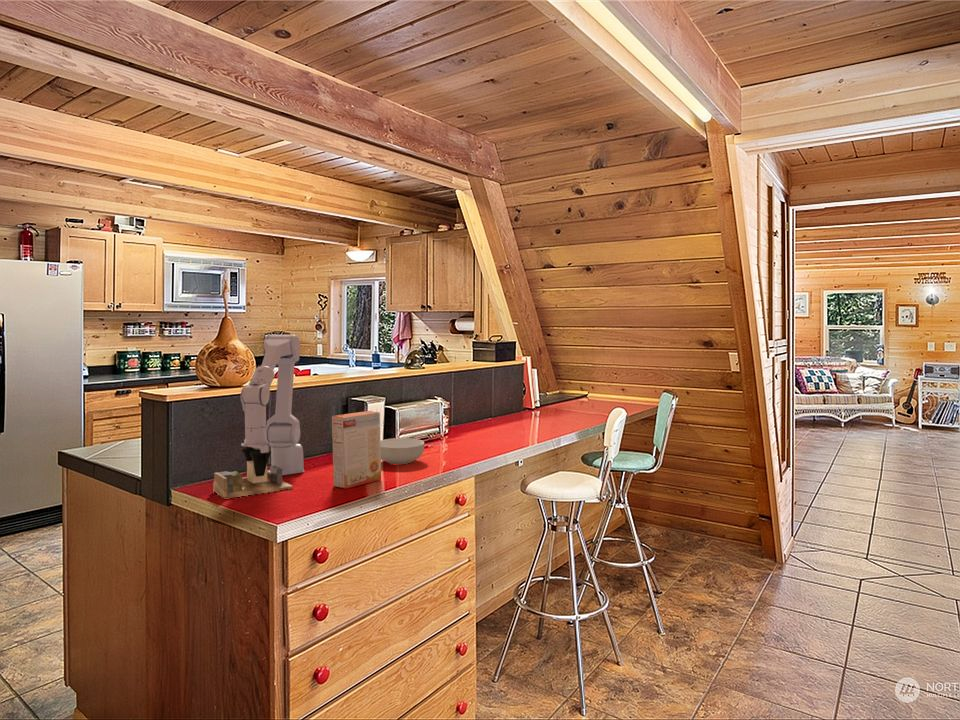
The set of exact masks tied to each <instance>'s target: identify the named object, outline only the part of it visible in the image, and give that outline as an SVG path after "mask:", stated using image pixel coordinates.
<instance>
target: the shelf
mask: <svg viewBox="0 0 960 720" xmlns="http://www.w3.org/2000/svg"><path fill="white" fill-rule="evenodd" d="M213 479H214V480H213V482H212V483H213V485H212V486H213V489H212V490H213V492H214V491H215V492H216V493H217V494H218V495H220V496H221V497H223V498H224V499H226V498H233V497H240V498H242V497H241V496H246V497H249V496H248V495H252V496H255V495H254V494H258V495H262V494H261V493H264V494H268V492H270V493H274V491H276V492H281V491H280V490H282V491H286V489H288V490H293V486H294V485H291V484H290V483H288V482H285V481H284V480H282V484H275V483H273V482H271V481H270V473H267V481H266V482H259V483H252V482H250V481H248V480H247V476H245V477H243V474H242V473H241V472H238V471H237V470H236V471H235V470H234V471H228V470H227V471H220V472H219V471H218V472H213ZM218 495H217V496H218ZM221 497H220V498H221ZM224 499H223V500H224Z"/></svg>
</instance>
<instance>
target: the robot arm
mask: <svg viewBox="0 0 960 720" xmlns="http://www.w3.org/2000/svg"><path fill="white" fill-rule="evenodd" d="M263 348H264V353H265V354H264V356H263V359H262V363H261V365H260V366H257V367H256V368H255V369H254V372H253V374H252V377H251V379H250V381H249V382H248V384H246V385H245V386H244V387H243V388H242V389H241V391H240V397H239V398H240V403H241V405H242V411H243V412H244V435H245V436H244V439H243V442H242V443H240V446H241V447H244V448H241V449H240V451H241V453H242V454H243V456H244V459H245V461H246V463H247V461H253V463H254V469H255V474H256V476H264V474H265V469H266V465H267V466H268V461H269V459H270V458H271V459H270V462H271V465H270V466H277V467H280V468H282V476H287V475H288V476H289V475H295V474H301V473H305V472H306V471H305V469H304V465H305V464H304V449H303V446H302V444H300V443H299V441H300V439H301V428H300V426H301V425H300V424H301V423H300V420H299V419H298V418H297V417H296V416H295V415H293V414H292V410H293V409H292V407H293V406H292V405H293V392H294V374H295V364H296V363H297V362H299V361H300V355H301V341H300V337H299V336H298V335H297V334H269V333H268V334H266V336H265V337H264V341H263ZM276 366H278V367H277V382H276V383H277V384H276V395H275V396H276V397H275V399H276V400H275V412H274V414H273V415H272V416H271V417H269V419H267V406H266V405H267V404H268V403H269V401H270V393H271V388H270V387H271V386H272V384H273V380H274V378H275V372H274V369H275V368H276ZM269 449H270V450H269ZM267 474H270V469H269V470H268V469H267Z"/></svg>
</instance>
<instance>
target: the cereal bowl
mask: <svg viewBox="0 0 960 720" xmlns="http://www.w3.org/2000/svg"><path fill="white" fill-rule="evenodd" d="M380 447H381V461H383V462H387V463H388V464H389V463H390V464H389V465H392V464H406V465H408V464H407V463H410V464H411V463H412V462H415V461H417V460H418V459H420V458H421V456H422V455H423V454H424V451H425V441H424V440H421V439H418V438H413V437H412V438H411V437H409V438H408V437H397V438H395V437H393V438H386V439H380Z"/></svg>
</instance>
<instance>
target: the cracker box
mask: <svg viewBox="0 0 960 720" xmlns="http://www.w3.org/2000/svg"><path fill="white" fill-rule="evenodd" d="M380 415H381V413H380V412H379V411H372V410H367V411H366V410H364V411H359V412H357V411H356V412H352V413H344V414H338V415H337V414H336V415H332V416H331V436H332V439H331V441H332V445H331V446H332V467H333V468H332V472H333V477H332V478H333V487H336V488H341V489H345V490H347V489H350V488H355V487H357V486H362V485H366V484H369V483H373V482H377V481H381V480H382V460H381V447H380V441H381V418H380V417H381V416H380Z"/></svg>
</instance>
